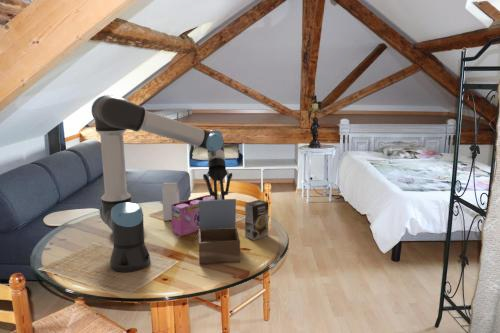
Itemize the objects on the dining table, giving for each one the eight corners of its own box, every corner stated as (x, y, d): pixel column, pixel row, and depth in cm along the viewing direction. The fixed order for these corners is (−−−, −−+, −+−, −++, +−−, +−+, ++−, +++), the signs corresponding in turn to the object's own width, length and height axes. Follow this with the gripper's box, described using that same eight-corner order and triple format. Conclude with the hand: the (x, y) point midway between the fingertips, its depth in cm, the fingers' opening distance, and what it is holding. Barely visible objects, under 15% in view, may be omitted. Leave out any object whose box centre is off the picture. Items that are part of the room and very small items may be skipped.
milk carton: (177, 220, 210) (175, 184, 206) (163, 220, 210) (161, 184, 206) (179, 216, 217) (178, 181, 213) (166, 216, 217) (164, 181, 213)
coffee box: (254, 240, 185) (254, 206, 181) (244, 236, 190) (244, 202, 186) (268, 235, 191) (269, 202, 187) (259, 231, 195) (259, 199, 192)
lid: (199, 229, 173) (199, 228, 174) (235, 227, 175) (235, 226, 176) (198, 201, 167) (198, 200, 167) (235, 200, 169) (235, 199, 169)
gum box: (210, 219, 212) (210, 194, 209) (220, 223, 207) (220, 197, 204) (171, 231, 196) (170, 204, 193) (181, 236, 190) (180, 208, 187)
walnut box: (199, 249, 175) (198, 229, 173) (236, 247, 177) (236, 228, 175) (199, 264, 162) (198, 243, 160) (240, 262, 164) (239, 240, 162)
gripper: (231, 165, 188) (235, 212, 176) (201, 166, 186) (204, 214, 174) (232, 156, 182) (236, 204, 170) (201, 157, 180) (204, 206, 168)
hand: (220, 209), depth 172 cm, fingers closed
